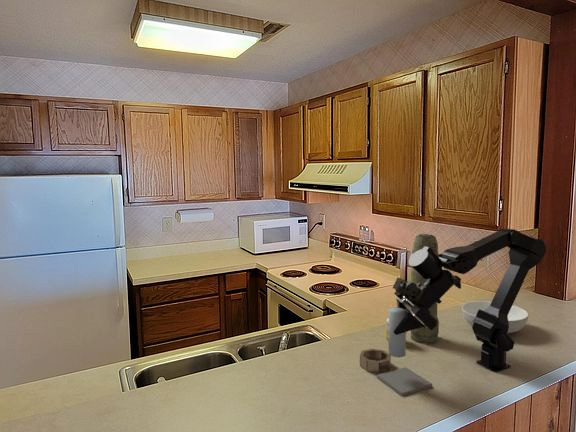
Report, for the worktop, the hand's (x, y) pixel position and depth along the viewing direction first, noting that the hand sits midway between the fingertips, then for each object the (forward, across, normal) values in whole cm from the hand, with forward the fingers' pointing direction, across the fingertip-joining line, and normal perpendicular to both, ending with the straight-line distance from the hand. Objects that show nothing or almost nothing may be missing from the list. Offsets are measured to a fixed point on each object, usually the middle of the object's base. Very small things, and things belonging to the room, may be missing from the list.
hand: (392, 330), depth 106 cm
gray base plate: (+8, +2, +11) cm, 14 cm away
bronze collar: (+12, -7, +7) cm, 16 cm away
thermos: (-3, -25, +22) cm, 34 cm away
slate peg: (+4, 0, +6) cm, 7 cm away
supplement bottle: (+4, -24, +15) cm, 28 cm away
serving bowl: (-22, -32, +42) cm, 57 cm away
